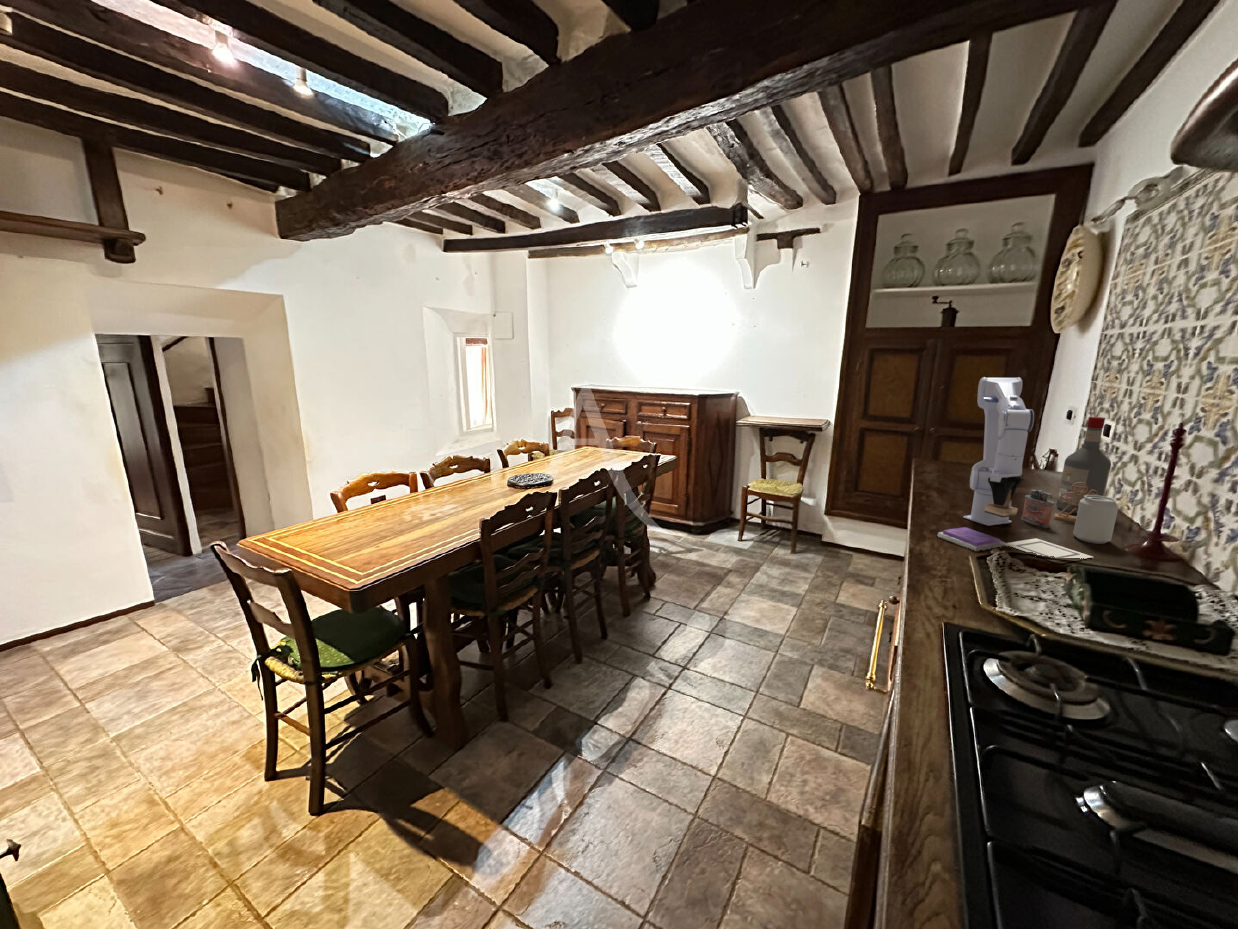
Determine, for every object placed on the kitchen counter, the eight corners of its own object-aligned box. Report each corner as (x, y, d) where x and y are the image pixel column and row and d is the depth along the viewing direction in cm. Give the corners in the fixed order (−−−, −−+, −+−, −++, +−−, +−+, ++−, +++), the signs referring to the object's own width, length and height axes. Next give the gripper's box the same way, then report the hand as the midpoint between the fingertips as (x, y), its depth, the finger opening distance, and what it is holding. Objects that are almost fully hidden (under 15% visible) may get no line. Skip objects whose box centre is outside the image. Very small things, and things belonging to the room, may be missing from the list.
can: (1100, 536, 133) (1109, 494, 130) (1117, 546, 126) (1127, 502, 123) (1066, 533, 135) (1075, 492, 133) (1081, 543, 128) (1090, 500, 126)
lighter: (1017, 518, 148) (1023, 487, 145) (1027, 518, 148) (1033, 487, 146) (1042, 527, 140) (1048, 494, 138) (1053, 527, 140) (1059, 494, 138)
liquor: (1072, 514, 151) (1092, 419, 144) (1051, 505, 159) (1068, 415, 153) (1105, 515, 149) (1126, 419, 143) (1082, 506, 158) (1101, 415, 151)
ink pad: (964, 532, 137) (965, 525, 136) (1004, 546, 127) (1005, 539, 126) (937, 536, 134) (938, 529, 134) (975, 551, 124) (976, 544, 123)
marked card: (1035, 539, 131) (1036, 537, 131) (1093, 558, 119) (1093, 556, 119) (1003, 545, 128) (1003, 543, 128) (1058, 564, 116) (1059, 562, 116)
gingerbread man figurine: (1053, 519, 147) (1061, 481, 144) (1053, 516, 150) (1060, 478, 147) (1094, 525, 141) (1102, 486, 139) (1092, 521, 144) (1100, 483, 142)
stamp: (997, 510, 134) (1001, 485, 133) (1016, 515, 130) (1020, 490, 128) (983, 512, 133) (988, 487, 132) (1002, 517, 128) (1006, 492, 127)
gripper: (1003, 449, 135) (995, 495, 138) (980, 455, 127) (972, 504, 130) (1034, 453, 129) (1026, 501, 132) (1012, 460, 121) (1003, 511, 124)
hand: (1001, 503), depth 131 cm, fingers closed on stamp, 3 cm apart
